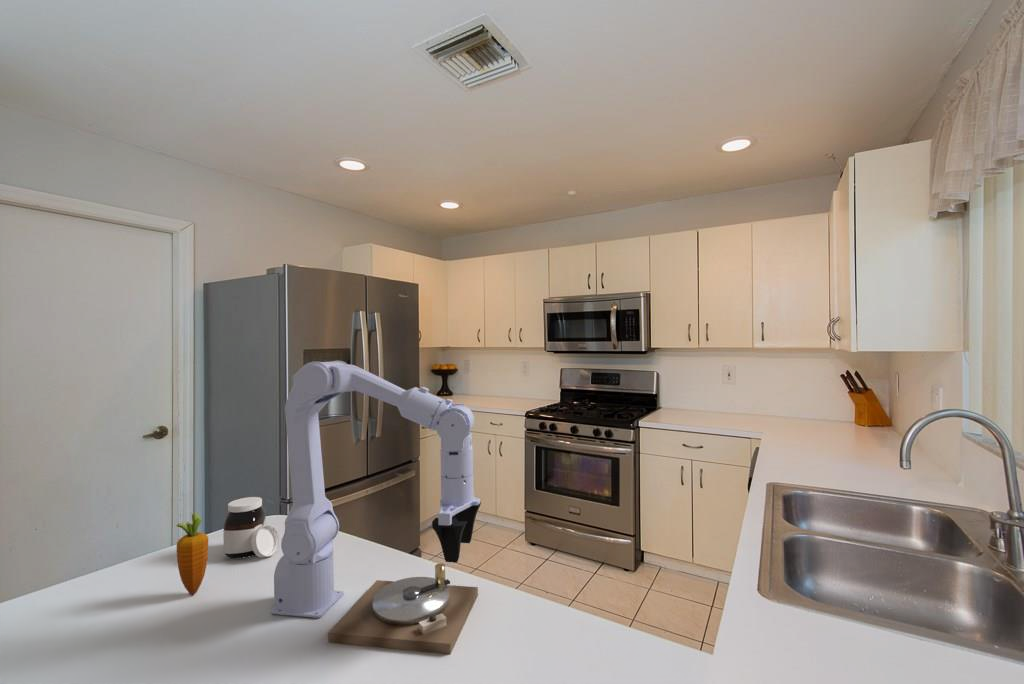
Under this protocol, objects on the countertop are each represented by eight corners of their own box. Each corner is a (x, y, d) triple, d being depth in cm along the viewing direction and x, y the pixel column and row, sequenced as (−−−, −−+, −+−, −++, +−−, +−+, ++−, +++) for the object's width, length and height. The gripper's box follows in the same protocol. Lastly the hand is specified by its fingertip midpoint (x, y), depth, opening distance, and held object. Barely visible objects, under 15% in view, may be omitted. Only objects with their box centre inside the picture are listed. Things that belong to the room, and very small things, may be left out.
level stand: (328, 642, 72) (327, 620, 72) (376, 588, 88) (376, 570, 88) (450, 654, 68) (450, 631, 68) (477, 595, 84) (477, 576, 85)
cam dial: (388, 634, 70) (387, 604, 70) (362, 598, 81) (362, 571, 81) (466, 604, 78) (465, 577, 78) (433, 575, 89) (433, 550, 89)
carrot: (192, 603, 84) (191, 521, 84) (170, 600, 85) (169, 519, 85) (215, 589, 89) (214, 511, 89) (193, 587, 90) (193, 510, 90)
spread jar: (234, 545, 110) (234, 496, 110) (286, 539, 112) (285, 492, 112) (215, 568, 98) (214, 513, 98) (273, 561, 101) (272, 508, 101)
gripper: (467, 487, 73) (469, 572, 73) (488, 464, 87) (490, 536, 87) (425, 485, 74) (427, 569, 74) (453, 463, 89) (454, 534, 88)
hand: (458, 551), depth 81 cm, fingers open, 7 cm apart
